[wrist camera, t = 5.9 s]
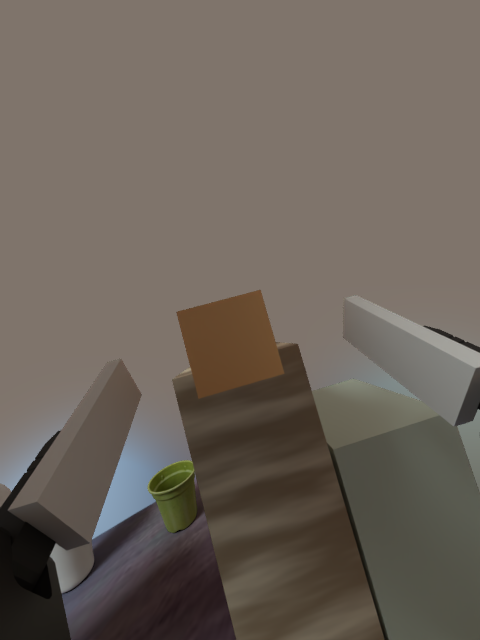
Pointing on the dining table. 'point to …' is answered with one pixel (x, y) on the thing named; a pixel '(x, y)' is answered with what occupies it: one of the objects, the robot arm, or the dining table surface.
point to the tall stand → (276, 509)
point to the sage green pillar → (407, 509)
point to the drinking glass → (72, 565)
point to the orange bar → (229, 343)
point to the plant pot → (175, 494)
